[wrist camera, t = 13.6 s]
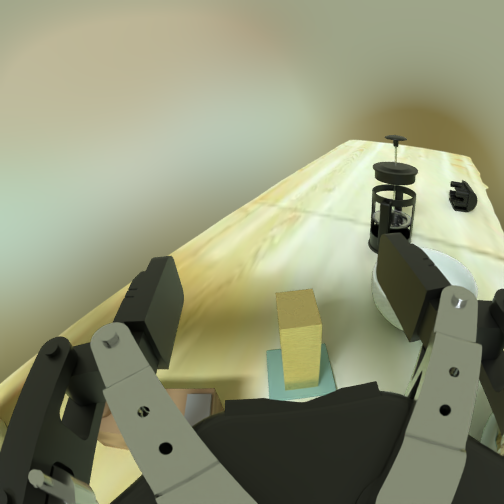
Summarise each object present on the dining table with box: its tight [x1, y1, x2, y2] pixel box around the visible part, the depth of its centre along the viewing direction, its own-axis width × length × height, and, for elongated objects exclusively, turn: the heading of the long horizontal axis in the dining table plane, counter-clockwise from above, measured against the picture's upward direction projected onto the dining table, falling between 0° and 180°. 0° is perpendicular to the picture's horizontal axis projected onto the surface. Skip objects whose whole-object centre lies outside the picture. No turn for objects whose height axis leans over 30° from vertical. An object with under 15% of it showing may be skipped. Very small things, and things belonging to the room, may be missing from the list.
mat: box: [267, 343, 336, 400], centre depth 35 cm, size 8×8×1 cm
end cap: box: [449, 180, 477, 212], centre depth 68 cm, size 10×7×7 cm
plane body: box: [97, 388, 224, 450], centre depth 27 cm, size 15×6×6 cm, turn 91°
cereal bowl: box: [371, 247, 478, 331], centre depth 38 cm, size 17×17×7 cm
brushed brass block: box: [276, 289, 322, 391], centre depth 32 cm, size 4×6×11 cm
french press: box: [368, 135, 418, 254], centre depth 51 cm, size 12×9×23 cm
